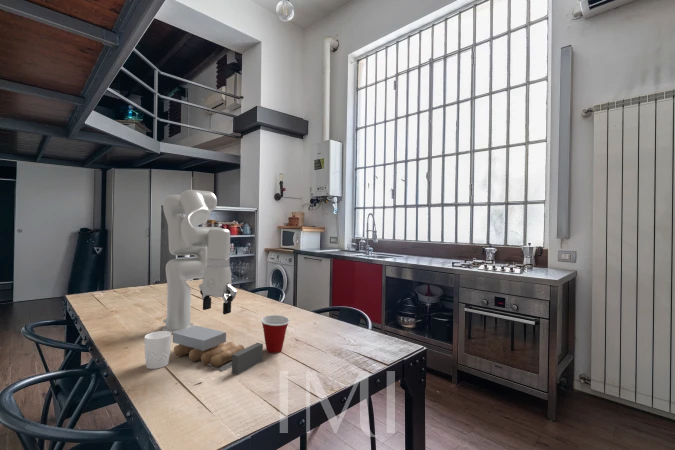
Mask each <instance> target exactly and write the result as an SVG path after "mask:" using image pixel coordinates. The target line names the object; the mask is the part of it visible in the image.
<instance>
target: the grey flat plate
mask: <svg viewBox="0 0 675 450" xmlns="http://www.w3.org/2000/svg"><path fill="white" fill-rule="evenodd" d="M208 366H209V367H210V368H213V369H216V370H219V371H225V370H226V369H229V368H230V367H231V368H232V360H230V361H228V362H226V363H224V364H222V365H220V366H218V367H213V366H212V365H211V363H209V365H208Z"/></svg>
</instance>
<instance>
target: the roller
mask: <svg viewBox="0 0 675 450" xmlns="http://www.w3.org/2000/svg"><path fill="white" fill-rule="evenodd" d="M235 346H236V347H234V348H231V349H229V350H227V351H224V352H222V353H220V354H217V355H215V356H213V357H211V365H212V366H213V367H218V366H220V365H222V364H224V363H226V362H228V361H230V360H232V354H234V353H237V352H239V351H241V350H243V349H245V347H244V345H242V344H239V345H235Z"/></svg>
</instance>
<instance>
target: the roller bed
mask: <svg viewBox="0 0 675 450" xmlns="http://www.w3.org/2000/svg"><path fill="white" fill-rule="evenodd" d="M224 343H225V342H224ZM224 343H222V344H219V345H217V346H215V347H212V348H210V349H207V350H205V351H202V350H198V349H195V348H191V347H187V346H184V345H180V344H177V345H175V346H174V348H173V354H174V356H175V357H176V358H179V357H180V358H181V357H182V356H185V355H187V354H188V357H189V360H190V361H191V362H193V363H194V362H198V361H199V360H200V361H201V363H202V364H203V366H209V363H211V357H213V356H215V355H217V354H220V353H222V352H224V351H227V350H229V349H231V348H234V347H236V346H237V345H236V344H235V343H234V342H232V341H230V342H228V343H225V344H224Z"/></svg>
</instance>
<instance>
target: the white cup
mask: <svg viewBox="0 0 675 450" xmlns="http://www.w3.org/2000/svg"><path fill="white" fill-rule="evenodd" d="M171 345H172V334H171V332H168V331H163V330H160V331H158V330H157V331H152V332H149V333H147V334H146V335H144V358H145V367H146V368H147V369H149V370H156V369H161V368H164V367H166V366H168V365H169V363H170V355H171Z"/></svg>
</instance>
